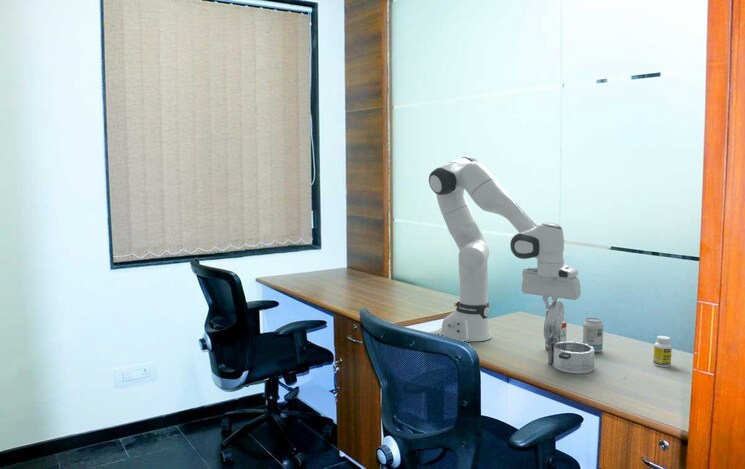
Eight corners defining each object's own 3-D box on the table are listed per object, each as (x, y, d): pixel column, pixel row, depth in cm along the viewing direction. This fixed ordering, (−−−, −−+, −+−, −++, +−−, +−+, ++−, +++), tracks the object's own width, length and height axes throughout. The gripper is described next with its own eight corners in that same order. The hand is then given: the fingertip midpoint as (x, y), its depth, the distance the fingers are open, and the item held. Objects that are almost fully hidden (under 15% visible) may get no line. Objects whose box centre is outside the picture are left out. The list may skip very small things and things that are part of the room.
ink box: (566, 347, 226) (567, 309, 224) (552, 351, 221) (553, 313, 219) (558, 345, 229) (559, 308, 227) (544, 349, 224) (545, 311, 223)
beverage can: (600, 348, 224) (601, 317, 223) (604, 354, 217) (605, 322, 216) (580, 347, 225) (581, 316, 224) (584, 353, 218) (585, 321, 217)
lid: (544, 349, 203) (534, 346, 205) (562, 339, 214) (552, 336, 216) (550, 306, 200) (540, 303, 202) (567, 298, 211) (557, 295, 213)
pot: (539, 368, 203) (540, 349, 202) (560, 355, 216) (560, 337, 215) (582, 378, 194) (583, 357, 193) (601, 364, 207) (602, 344, 206)
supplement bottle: (663, 368, 202) (665, 340, 201) (649, 363, 207) (651, 336, 206) (674, 365, 205) (675, 338, 203) (660, 361, 209) (661, 334, 208)
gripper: (518, 268, 210) (518, 306, 212) (575, 274, 197) (575, 314, 199) (526, 265, 215) (526, 303, 217) (582, 271, 202) (582, 311, 204)
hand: (550, 308), depth 208 cm, fingers closed
